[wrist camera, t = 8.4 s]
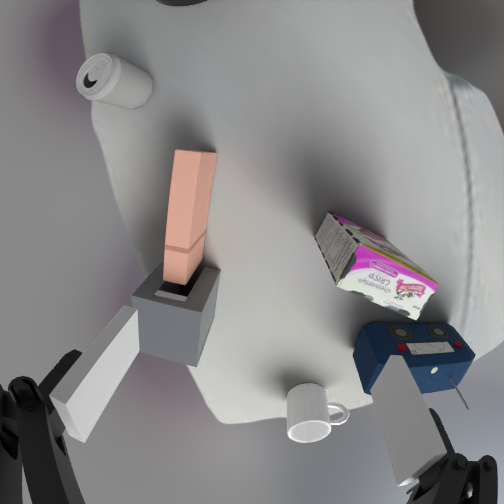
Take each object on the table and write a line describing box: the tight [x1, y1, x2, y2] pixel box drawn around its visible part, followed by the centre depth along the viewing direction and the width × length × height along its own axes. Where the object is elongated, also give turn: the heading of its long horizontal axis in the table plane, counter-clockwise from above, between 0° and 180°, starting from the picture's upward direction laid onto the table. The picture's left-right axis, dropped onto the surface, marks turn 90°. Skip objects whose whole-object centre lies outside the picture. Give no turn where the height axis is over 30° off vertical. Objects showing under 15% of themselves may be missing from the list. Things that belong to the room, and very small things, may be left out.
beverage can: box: [76, 53, 153, 109], centre depth 29 cm, size 6×6×12 cm
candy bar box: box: [315, 211, 439, 320], centre depth 32 cm, size 11×5×16 cm, turn 68°
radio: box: [353, 322, 476, 409], centre depth 36 cm, size 21×9×20 cm, turn 85°
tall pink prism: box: [163, 150, 217, 285], centre depth 36 cm, size 16×3×9 cm, turn 170°
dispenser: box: [132, 261, 221, 367], centre depth 39 cm, size 9×9×12 cm
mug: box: [287, 383, 350, 442], centre depth 47 cm, size 8×12×10 cm
